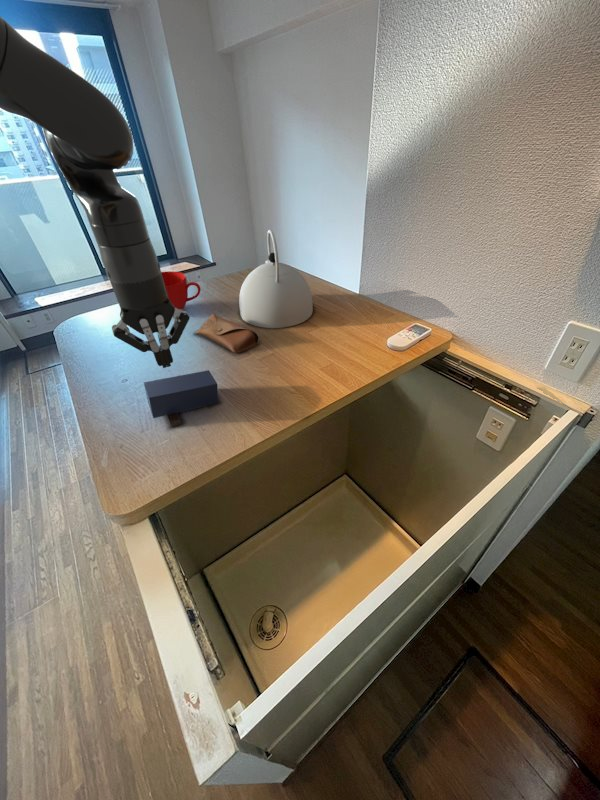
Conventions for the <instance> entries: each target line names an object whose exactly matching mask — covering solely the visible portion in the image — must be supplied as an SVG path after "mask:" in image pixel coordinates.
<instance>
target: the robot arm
mask: <svg viewBox="0 0 600 800" xmlns="http://www.w3.org/2000/svg"><path fill="white" fill-rule="evenodd" d="M0 110H2V112H6V113H8V114H11V115H14V116H18V117H20V118H25V119H27V120H29V121H31V122H32V123H34V124H36V125H37V126H39V127H41V128H42V132H43V136H44V139H45V142H46V145H47V147H48V149H49V152H50V153H51V155H52V157H53V160H54V161H55V164H56V165H57V167H58V169H59V170H60V172H61V174H62V175H63V177H64V179H65V180H66V182H67V184H68V186H69V188H70V189H71V191H72V193H73V194H74V195H75V197H76V199H77V200H78V201H79V203H80V205H81V206H82V208H83V210H84V212H85V215H86V219H87V222H88V223H89V227H90V229H91V231H92V234H93V236H94V239H95V242H96V244H97V248H98V250H99V255H100V258H101V262H102V266H103V267H104V271H105V274H106V276H107V278H108V280H109V282H110V286H111V287H112V290H113V293H114V296H115V298H116V301H117V303H118V306H119V308H120V313H119V317H120V320H119V321H118V322H117V324H112V326H111V331H112V334H113V336H114V338H117V339H118V340H120V341H123V342H124V343H125V344H127V345H129V346H131V347H132V348H134V349H136V350H138V351H140V352H141V353H147V352H152V353H153V356H154V359H155V361H156V364H157V366H158V367H161V366H162V369H165V368H170V367H172V365H171V364H173V363H174V358H173V354H172V352H171V349H170V348H171V346H172V345H177V344H178V343H179V341H180V339H181V337H182V335H183V333H184V331H185V329H186V326H187V324H188V322H189V321H190V319H191V318H190V315H189V314H188V312H187V311H186V309H184V308H183V309H181V310H179V309H177V308H175V307H174V305H173V304H172V302H170V300H169V298H168V294H167V291H166V287H165V284H164V280H163V277H162V273H161V272H162V270H161V265H160V264H161V263H160V261H159V259H158V255H157V253H156V250H155V248H154V245H153V243H152V241H151V237H150V234H149V231H148V227H147V224H146V221H145V218H144V215H143V214H144V213H143V210H142V208H141V205H140V202H139V200H138V198H137V197H136V196H135V195H134V194H133V193H131V192H130V191H128V190H126V189H125V188H123V186H122V185H121V184H120V181H119V180H118V178H117V176H116V174H115V172H114V171H116V170H117V171H118V170H120V169H122V168H124V167H126V166H127V165H128V164H129V163H130V161H131V160H132V158H133V155H134V150H135V143H134V137H133V133H132V131H131V128H130V126H129V124H128V122H127V119H125V117H124V115H123V114H122V112H121V111H120V110H119V109H118V107H117V106H116V105H115V104H114V103H113V101H112V100H110V98H109V97H107V95H105V94H104V93H103V92H102V91H100V90H99V89H98V88H97V87H96V86H95V85H94V84H92V83H91V82H89V81H88V80H86V79H85V78H83V77H82V76H81V75H79V74H78V73H76V72H75V71H73V69H71V68H69V67H68V66H66V65H65V64H63V63H62V62H61V61H59V60H58V59H56V58H55V57H54V56H52V55H50V54H49V53H47V52H46V51H44V50H43V49H41V48H39V47H38V46H36V45H35V44H33V43H32V42H30V41H29V40H27V39H26V38H25V37H23V36H22V35H21V34H20V32H18V31H17V30H16V29H15V28H14V27H13V26H12V25H11V24H9V23H8V22H7V21H6V20H5V19H4V18H3V17H2V15H0ZM173 314H174V315H173ZM172 319H173V320H174V321H173V323H172V326H171V328H170V330H169V332H168V333H167V329H168V328H169V326H170V323H171V321H172ZM130 328H131V329H132V330H134V331H136V332H137V333H139V334H141V335H144V336H145V338H146V340H144V339H142V338H140V337H139V336H137V335H135V334H134V333H132V332H131V331H130ZM155 333H156V334H157V338H158V342H157V340H156V337H155V335H154V334H155ZM158 343H159V344H158Z"/></svg>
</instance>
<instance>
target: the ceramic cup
mask: <svg viewBox="0 0 600 800" xmlns="http://www.w3.org/2000/svg"><path fill="white" fill-rule="evenodd" d="M161 273H162V277H163V280H164V284H165V287H166V291H167V294H168V298H169V300H170V302H172V304H173V305H174V307H175V308H177V309H179V310H181V309H184V308H185V306H186V304H187V302H190V301H192V300H194V299H197V298H198V297H199V296H200V294H201V286H200V284H199V283H198V282H195V281H190V282H187V277H186V275H185V274H184V273H183V272H180V271H169V270H168V271H161ZM191 286H195V287H196V288H197V292H196V294H195V295H193V296H191V297H189V291H188V290H189V288H190V287H191ZM173 316H174V314H173Z"/></svg>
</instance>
